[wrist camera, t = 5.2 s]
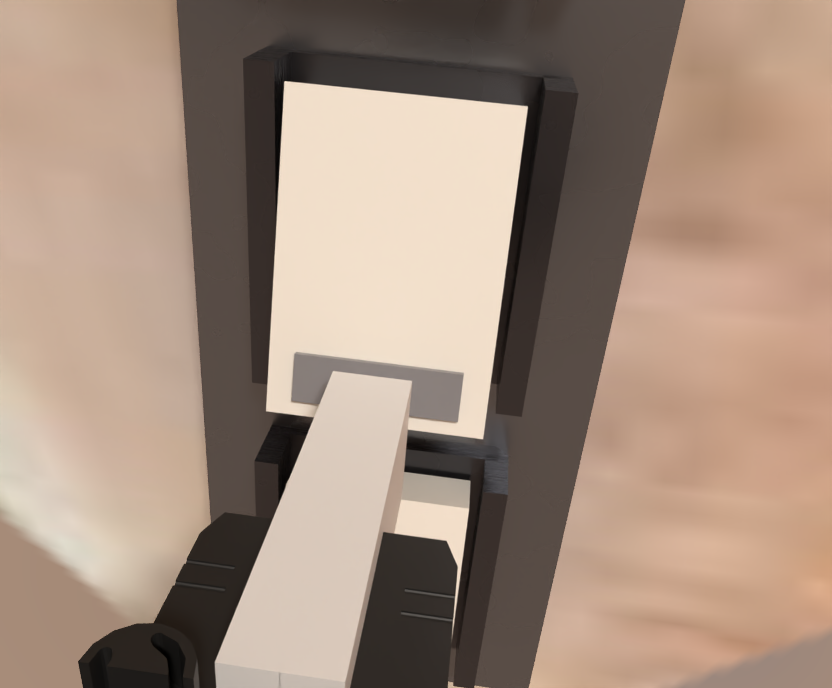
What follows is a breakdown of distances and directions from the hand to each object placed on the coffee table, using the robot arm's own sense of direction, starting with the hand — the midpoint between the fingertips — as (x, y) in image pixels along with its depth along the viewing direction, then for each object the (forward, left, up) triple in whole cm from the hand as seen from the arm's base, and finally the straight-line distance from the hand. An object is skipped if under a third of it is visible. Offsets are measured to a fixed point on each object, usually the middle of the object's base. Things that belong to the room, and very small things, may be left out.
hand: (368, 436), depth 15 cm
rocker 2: (-3, 0, -2) cm, 4 cm away
